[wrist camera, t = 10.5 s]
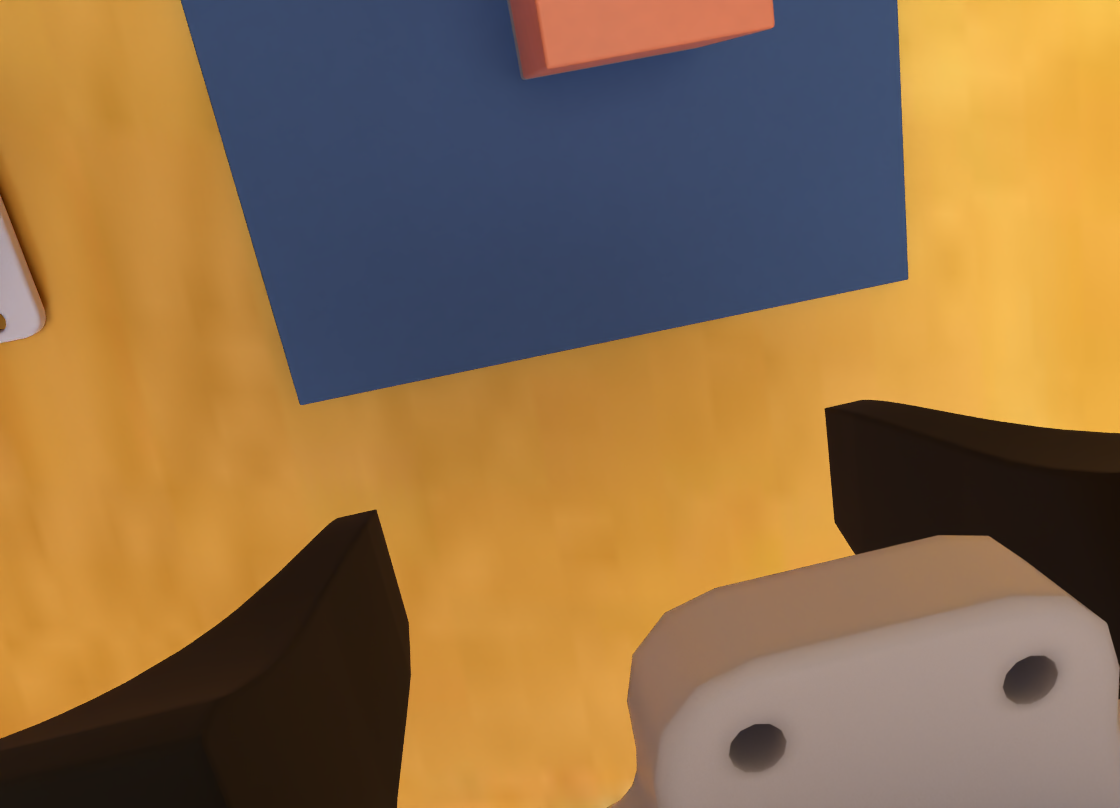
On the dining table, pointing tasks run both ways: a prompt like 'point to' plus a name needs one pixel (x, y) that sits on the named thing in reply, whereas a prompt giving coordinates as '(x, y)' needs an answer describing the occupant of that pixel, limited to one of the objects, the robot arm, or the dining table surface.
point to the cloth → (544, 179)
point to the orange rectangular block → (624, 29)
